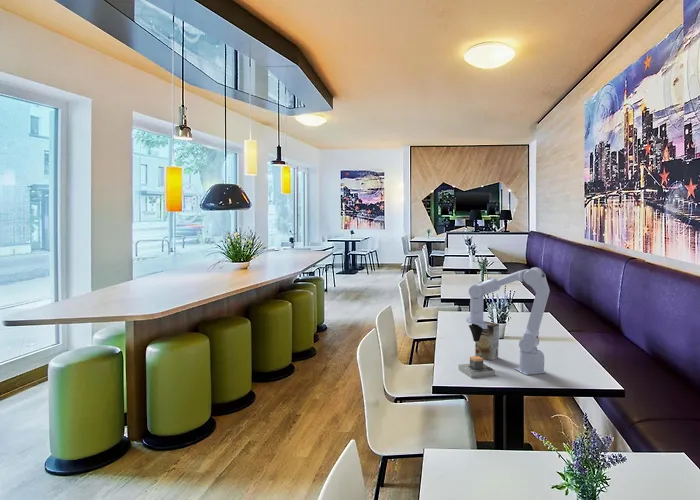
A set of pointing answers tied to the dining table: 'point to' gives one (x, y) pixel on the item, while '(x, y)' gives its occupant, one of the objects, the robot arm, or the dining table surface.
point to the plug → (476, 363)
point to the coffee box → (488, 342)
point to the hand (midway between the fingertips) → (476, 341)
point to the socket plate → (476, 371)
